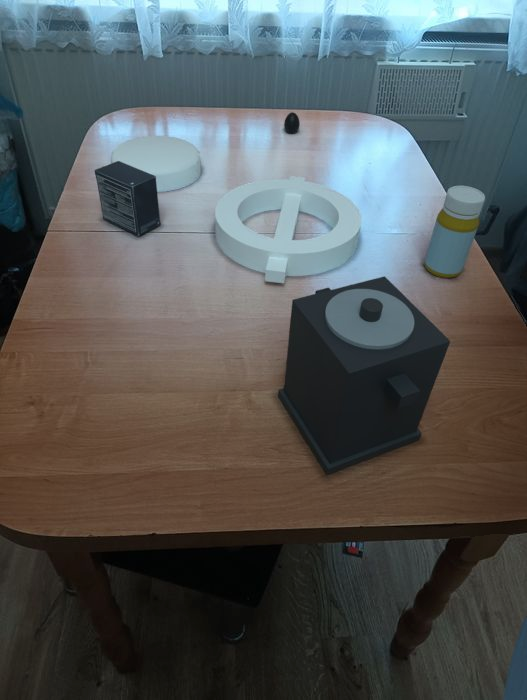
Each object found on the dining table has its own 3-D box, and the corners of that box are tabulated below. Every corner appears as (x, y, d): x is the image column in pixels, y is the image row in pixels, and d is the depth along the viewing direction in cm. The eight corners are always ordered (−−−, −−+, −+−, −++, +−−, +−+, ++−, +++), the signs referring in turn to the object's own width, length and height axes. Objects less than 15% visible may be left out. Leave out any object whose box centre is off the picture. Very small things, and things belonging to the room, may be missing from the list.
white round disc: (124, 151, 132) (121, 131, 128) (205, 155, 131) (205, 136, 128) (103, 189, 117) (99, 169, 114) (195, 194, 117) (194, 174, 114)
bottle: (415, 266, 100) (436, 192, 90) (437, 253, 104) (460, 180, 93) (447, 284, 97) (472, 208, 86) (468, 270, 100) (496, 196, 90)
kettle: (436, 450, 70) (486, 338, 56) (335, 490, 65) (363, 378, 51) (357, 353, 83) (381, 242, 69) (268, 380, 78) (275, 267, 64)
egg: (297, 135, 143) (299, 116, 139) (282, 133, 143) (283, 114, 140) (299, 129, 146) (301, 110, 142) (284, 128, 146) (286, 109, 143)
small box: (163, 224, 107) (158, 174, 100) (139, 238, 104) (132, 187, 96) (126, 207, 112) (118, 158, 105) (101, 219, 108) (92, 169, 101)
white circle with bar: (297, 188, 121) (298, 168, 118) (387, 246, 105) (392, 224, 102) (188, 223, 108) (187, 201, 105) (272, 294, 92) (274, 271, 89)
